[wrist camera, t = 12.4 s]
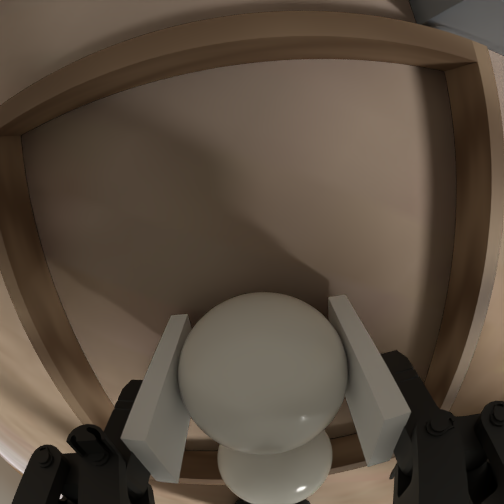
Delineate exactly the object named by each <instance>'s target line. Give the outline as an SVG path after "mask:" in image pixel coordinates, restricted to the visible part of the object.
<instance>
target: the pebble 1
mask: <svg viewBox="0 0 504 504" xmlns="http://www.w3.org/2000/svg"><path fill="white" fill-rule="evenodd" d="M178 382H179V389H180V394H181V397H182V400H183V403H184V405H185V407H186V409H187V411H188V413H189V415H190V416H191V418H192V419H193V421H194V422H195V423H196V425H197V426H198V427H199V428H200V429H201V430H202V431H203V432H204V433H205V434H206V435H208V436H209V437H210V438H212V439H213V440H214V441H216V442H218V443H219V444H221V445H223V446H225V447H227V448H230V449H232V450H235V451H239V452H243V453H247V454H255V455H271V454H278V453H283V452H286V451H290V450H292V449H295V448H298V447H300V446H302V445H304V444H306V443H308V442H309V441H311V440H312V439H313V438H315V437H316V436H317V435H319V434H320V433H321V432H322V431H323V430H324V429H325V428H326V427H327V426H328V425H329V423H330V422H331V421H332V420H333V419H334V417H335V415H336V414H337V412H338V410H339V408H340V407H341V404H342V402H343V399H344V396H345V393H346V389H347V383H348V362H347V357H346V352H345V349H344V346H343V344H342V341H341V339H340V337H339V335H338V333H337V332H336V330H335V329H334V327H333V326H332V324H331V323H330V322H329V321H328V320H327V319H326V318H325V317H324V316H323V315H322V314H321V313H320V312H319V311H318V310H316V309H315V308H314V307H312V306H310V305H309V304H307V303H305V302H304V301H302V300H299V299H297V298H295V297H292V296H288V295H285V294H279V293H272V292H256V293H249V294H243V295H240V296H237V297H233V298H231V299H228V300H226V301H224V302H222V303H220V304H219V305H217V306H215V307H214V308H213V309H211V310H210V311H209V312H207V313H206V314H205V315H204V316H203V317H202V318H201V319H200V320H199V321H198V322H197V323H196V325H195V326H194V327H193V329H192V330H191V332H190V333H189V335H188V337H187V339H186V341H185V343H184V346H183V348H182V351H181V355H180V359H179V365H178Z"/></svg>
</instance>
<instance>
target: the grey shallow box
mask: <svg viewBox="0 0 504 504" xmlns="http://www.w3.org/2000/svg"><path fill="white" fill-rule="evenodd" d="M409 2H410V5H411V8H412V11H413V14H414V17H415V20H416V23H417V24H420V25H424V26H428V27H432V28H436V29H439V30H442V31H446V32H449V33H452V34H455V35H458V36H461V37H464V38H467V39H470V40H473V41H475V42H478V43H480V44H483V45H485V46H487V48H488V49H489V50H492V51H494V52H496V53H499V54H501V55H503V56H504V0H409Z"/></svg>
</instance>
